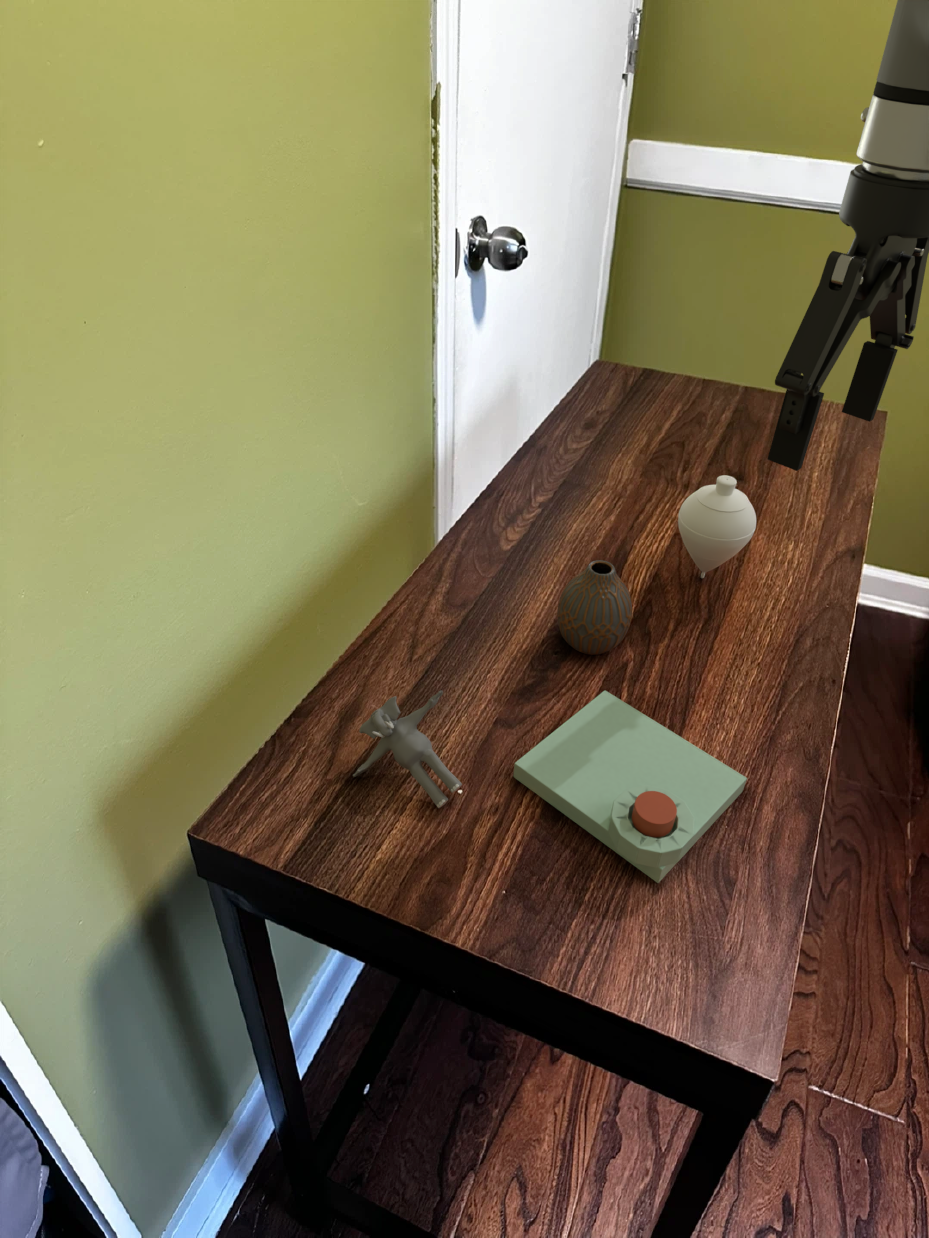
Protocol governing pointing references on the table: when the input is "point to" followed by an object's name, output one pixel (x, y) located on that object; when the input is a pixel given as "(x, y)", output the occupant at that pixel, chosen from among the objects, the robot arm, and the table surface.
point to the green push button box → (628, 780)
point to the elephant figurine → (408, 746)
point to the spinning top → (716, 523)
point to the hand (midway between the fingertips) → (822, 439)
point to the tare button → (654, 814)
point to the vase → (595, 609)
